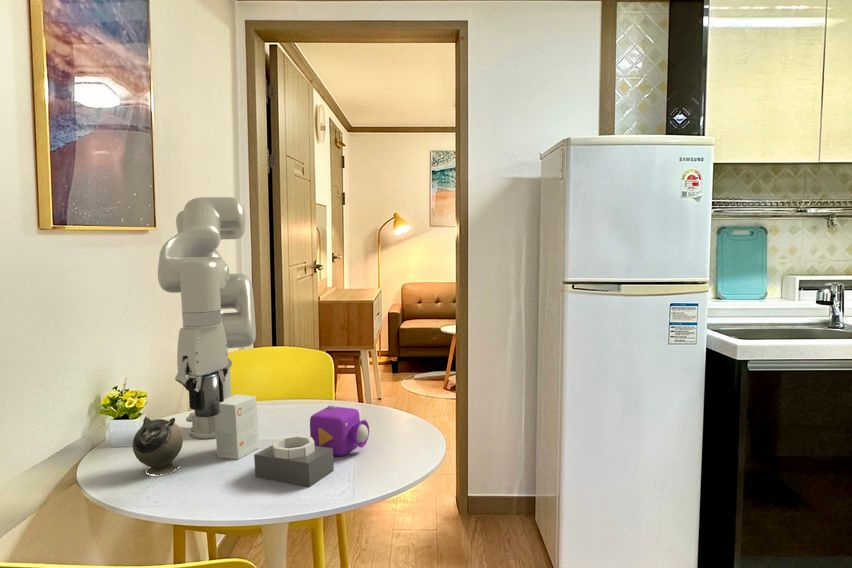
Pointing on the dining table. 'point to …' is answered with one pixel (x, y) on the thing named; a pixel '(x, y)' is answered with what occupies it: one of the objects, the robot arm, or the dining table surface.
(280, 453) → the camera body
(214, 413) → the lens
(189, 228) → the robot arm
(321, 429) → the toy camera
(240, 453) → the small box
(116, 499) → the dining table surface
